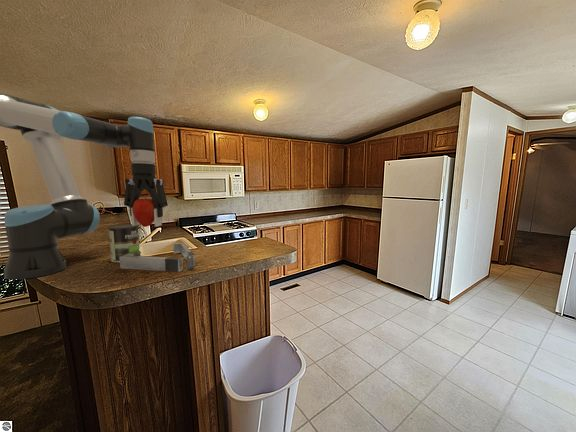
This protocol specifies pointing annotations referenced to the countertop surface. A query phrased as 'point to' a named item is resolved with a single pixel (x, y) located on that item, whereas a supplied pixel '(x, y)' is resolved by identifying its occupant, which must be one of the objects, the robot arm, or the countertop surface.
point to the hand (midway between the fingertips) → (147, 225)
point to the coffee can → (123, 241)
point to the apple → (144, 211)
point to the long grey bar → (155, 263)
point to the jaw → (183, 250)
